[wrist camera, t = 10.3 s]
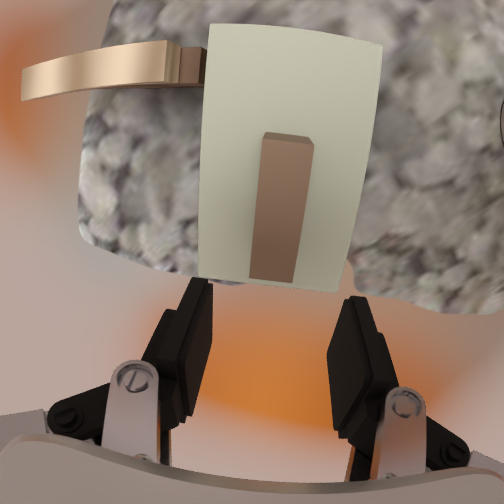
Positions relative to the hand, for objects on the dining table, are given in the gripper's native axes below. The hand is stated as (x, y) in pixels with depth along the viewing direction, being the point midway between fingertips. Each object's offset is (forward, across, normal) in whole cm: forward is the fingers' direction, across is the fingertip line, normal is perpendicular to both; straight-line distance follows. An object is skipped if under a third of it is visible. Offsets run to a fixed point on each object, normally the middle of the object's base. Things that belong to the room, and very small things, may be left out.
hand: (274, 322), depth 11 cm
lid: (+16, 0, -2) cm, 17 cm away
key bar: (+14, +15, -10) cm, 23 cm away
